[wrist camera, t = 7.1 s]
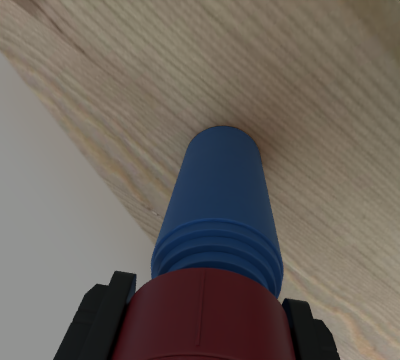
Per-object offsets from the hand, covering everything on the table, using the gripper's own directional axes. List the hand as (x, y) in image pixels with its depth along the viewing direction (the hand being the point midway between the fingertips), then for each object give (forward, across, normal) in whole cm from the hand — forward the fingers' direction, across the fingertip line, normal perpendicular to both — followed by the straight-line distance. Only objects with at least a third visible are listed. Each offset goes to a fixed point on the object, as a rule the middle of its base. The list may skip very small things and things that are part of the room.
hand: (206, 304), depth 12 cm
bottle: (+12, 0, 0) cm, 12 cm away
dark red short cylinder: (-1, 0, 0) cm, 1 cm away
